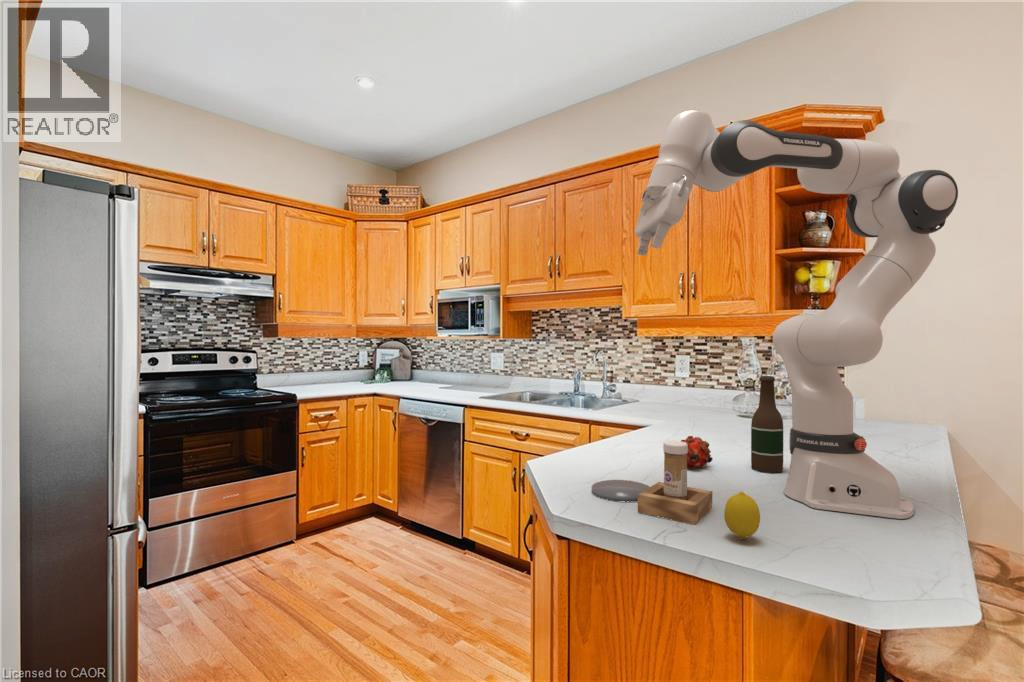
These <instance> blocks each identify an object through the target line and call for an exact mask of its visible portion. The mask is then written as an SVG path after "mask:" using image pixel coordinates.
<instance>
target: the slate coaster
mask: <svg viewBox="0 0 1024 682" xmlns="http://www.w3.org/2000/svg"><path fill="white" fill-rule="evenodd" d="M649 487H650V485H648V484H645V483H642V482H638V481H633V480H626V479H625V480H624V479H606V480H600V481H597V482H595V483H593V484H591V493H592V495H593V496H595V495H596V496H595V497H596V498H599V497H600V499H602V498H603V499H602V500H605V499H608V500H607V501H610V500H613V501H612V502H617V501H625V502H624V503H631V502H630V501H638V494H639V493H641V492H643V491H644V490H646V489H648V488H649ZM627 501H629V502H627Z"/></svg>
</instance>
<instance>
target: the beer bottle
mask: <svg viewBox="0 0 1024 682" xmlns="http://www.w3.org/2000/svg"><path fill="white" fill-rule="evenodd" d="M759 381H760V386H759V387H760V389H759V402H758V408H757V409H756V410H755V412H753V415H752V418H751V423H750V425H751V426H750V433H751V434H750V446H751V447H750V448H751V449H750V464H751V465H750V466H751V470H753V471H756V472H758V473H764V474H773V475H774V474H781V473H782V472H783V470H784V420H783V417H782V415H781V412H780V411H779V410H778V408H777V406H776V404H777V403H776V395H775V382H776V378H775V376H773V375H762V376H760V378H759Z"/></svg>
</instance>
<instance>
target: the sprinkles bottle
mask: <svg viewBox="0 0 1024 682" xmlns="http://www.w3.org/2000/svg"><path fill="white" fill-rule="evenodd" d="M662 449H663V450H662V451H663V454H664V456H663V457H664V458H663V460H664V461H663V465H664V466H663V467H664V468H663V474H664V475H663V483H664V496H665V497H670V498H676V499H681V500H686V501H687V487H688V468H687V453H688V444H687V443H685V442H681V440H665V441H664V442H663V447H662Z"/></svg>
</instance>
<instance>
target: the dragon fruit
mask: <svg viewBox="0 0 1024 682" xmlns="http://www.w3.org/2000/svg"><path fill="white" fill-rule="evenodd" d="M680 441H681V442H685V443H687V444H688V453H687V470H692V469H694V468H695V467H698V468H701V469H702V468H704V467H705V466H706V465H707V464H709V463H711V462H712V461H713V457H712V455H711V452H712V451H711V449H710V448H709V447H710V443H709V442H708V441H706V440H703V439H702V438H701V437H699V436H698V437H697V436H695V437H694V435H688V436H687V437H686V438H685V439H681V440H680Z"/></svg>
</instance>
